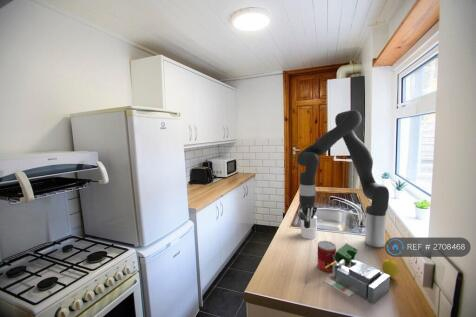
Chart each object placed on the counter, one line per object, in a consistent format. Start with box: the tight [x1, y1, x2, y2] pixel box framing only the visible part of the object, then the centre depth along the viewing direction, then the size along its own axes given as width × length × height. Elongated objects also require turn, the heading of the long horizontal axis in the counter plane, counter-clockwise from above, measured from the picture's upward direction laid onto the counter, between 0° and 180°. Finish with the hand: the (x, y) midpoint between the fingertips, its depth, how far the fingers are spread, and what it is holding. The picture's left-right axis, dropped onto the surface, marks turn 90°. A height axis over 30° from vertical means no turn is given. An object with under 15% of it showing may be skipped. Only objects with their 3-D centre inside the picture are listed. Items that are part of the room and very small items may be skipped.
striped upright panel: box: [323, 277, 355, 297], centre depth 92 cm, size 3×11×1 cm, turn 34°
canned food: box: [317, 240, 337, 273], centre depth 105 cm, size 8×8×11 cm
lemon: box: [381, 258, 399, 278], centre depth 97 cm, size 6×6×8 cm
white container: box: [300, 215, 318, 240], centre depth 138 cm, size 9×9×12 cm
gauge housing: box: [335, 258, 391, 305], centre depth 92 cm, size 12×14×8 cm
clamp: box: [336, 243, 359, 265], centre depth 111 cm, size 12×6×9 cm, turn 126°
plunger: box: [325, 259, 350, 278], centre depth 96 cm, size 14×8×7 cm, turn 124°
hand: (306, 227), depth 113 cm, fingers closed
